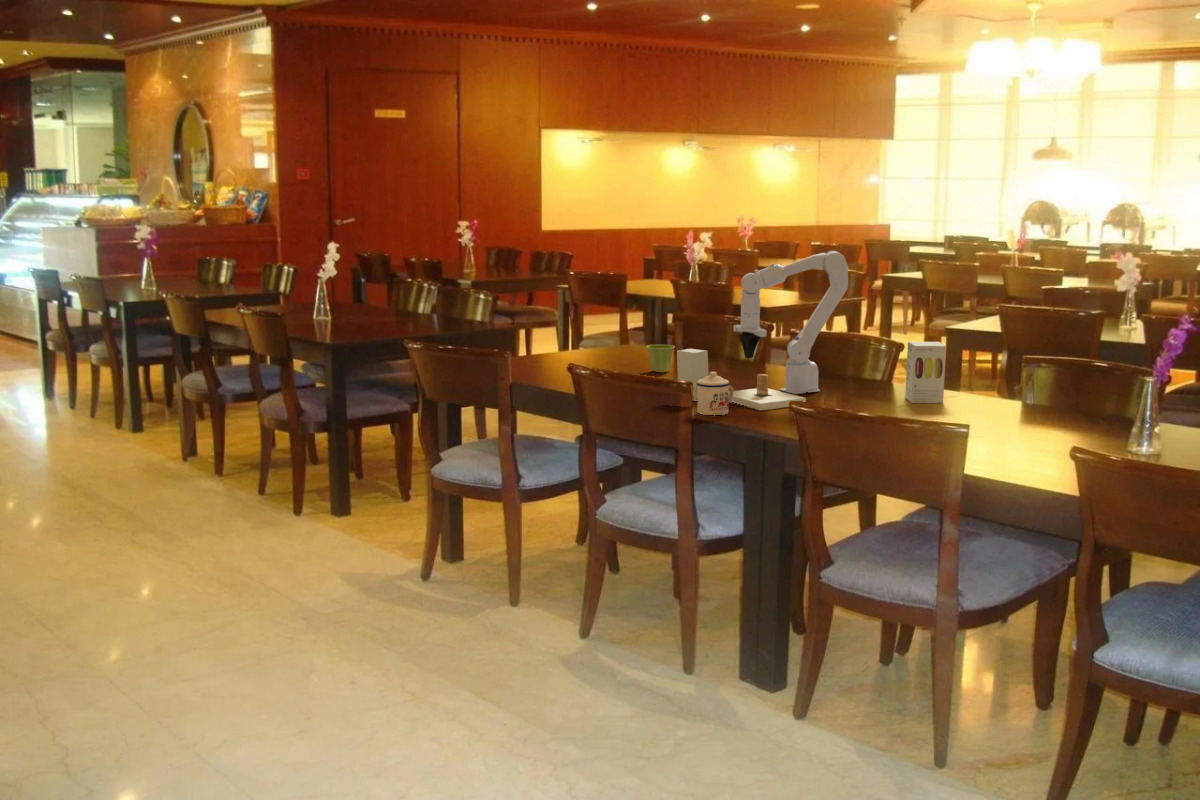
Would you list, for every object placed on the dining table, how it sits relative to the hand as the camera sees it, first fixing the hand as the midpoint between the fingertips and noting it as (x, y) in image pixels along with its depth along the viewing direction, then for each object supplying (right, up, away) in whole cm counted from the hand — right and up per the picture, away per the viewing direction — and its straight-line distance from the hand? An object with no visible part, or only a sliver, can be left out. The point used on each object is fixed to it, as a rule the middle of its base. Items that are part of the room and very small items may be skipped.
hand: (749, 357), depth 367 cm
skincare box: (-18, -13, -10) cm, 24 cm away
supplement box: (+49, -13, -16) cm, 53 cm away
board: (+2, -13, -15) cm, 20 cm away
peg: (+2, -14, -15) cm, 20 cm away
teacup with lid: (-13, -17, -30) cm, 36 cm away
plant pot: (-25, -4, +40) cm, 47 cm away
